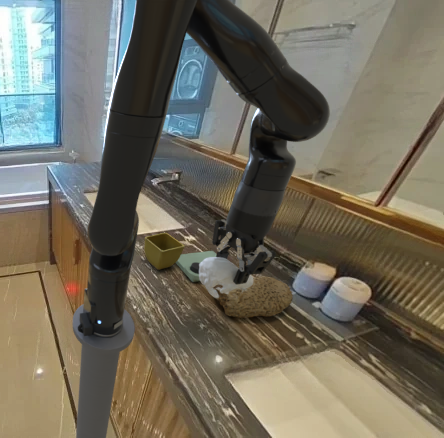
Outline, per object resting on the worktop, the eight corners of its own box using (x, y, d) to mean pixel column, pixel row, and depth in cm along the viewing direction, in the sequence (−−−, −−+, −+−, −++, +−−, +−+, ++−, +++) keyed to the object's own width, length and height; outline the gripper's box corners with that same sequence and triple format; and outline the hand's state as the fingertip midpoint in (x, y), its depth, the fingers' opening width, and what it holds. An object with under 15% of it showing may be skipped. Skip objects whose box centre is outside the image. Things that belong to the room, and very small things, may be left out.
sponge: (231, 329, 72) (315, 316, 70) (230, 303, 69) (317, 289, 67) (206, 299, 84) (276, 287, 82) (205, 276, 82) (277, 264, 80)
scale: (191, 285, 84) (193, 277, 83) (168, 259, 95) (169, 251, 94) (239, 279, 86) (243, 271, 85) (211, 253, 98) (213, 246, 96)
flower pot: (161, 253, 98) (166, 231, 94) (179, 268, 91) (185, 245, 87) (140, 259, 95) (144, 236, 91) (157, 275, 88) (162, 251, 84)
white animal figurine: (201, 250, 63) (251, 253, 64) (189, 279, 67) (236, 281, 68) (217, 268, 58) (271, 271, 59) (202, 299, 62) (253, 301, 63)
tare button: (194, 274, 84) (196, 270, 83) (187, 267, 87) (189, 262, 86) (205, 273, 85) (207, 268, 84) (198, 266, 88) (199, 261, 87)
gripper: (305, 222, 49) (269, 294, 57) (244, 189, 61) (221, 253, 70) (267, 225, 48) (236, 299, 56) (212, 192, 60) (193, 256, 68)
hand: (228, 273), depth 63 cm, fingers closed on white animal figurine, 5 cm apart
